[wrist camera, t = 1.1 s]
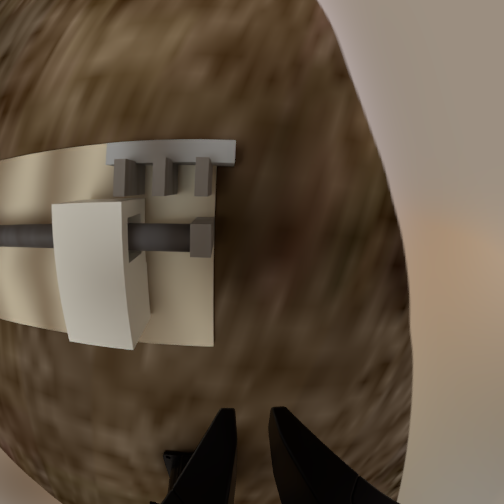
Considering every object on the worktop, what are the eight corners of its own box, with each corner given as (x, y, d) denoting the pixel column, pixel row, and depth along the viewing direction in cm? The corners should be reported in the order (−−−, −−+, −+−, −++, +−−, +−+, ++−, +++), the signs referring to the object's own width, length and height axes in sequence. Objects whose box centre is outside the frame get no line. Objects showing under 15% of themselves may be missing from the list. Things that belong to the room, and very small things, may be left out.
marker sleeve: (145, 197, 15) (121, 201, 11) (150, 317, 17) (133, 350, 13) (86, 199, 15) (51, 204, 11) (95, 312, 17) (69, 341, 13)
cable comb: (234, 142, 16) (237, 125, 12) (228, 343, 19) (229, 383, 14) (-38, 172, 14) (-71, 174, 9) (-24, 309, 16) (-51, 327, 12)
